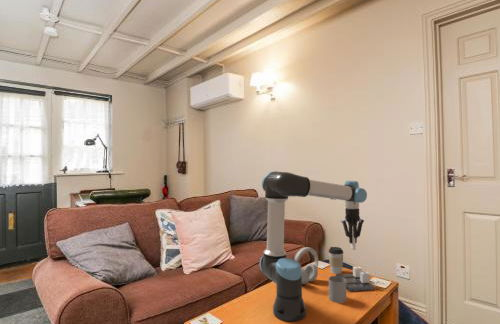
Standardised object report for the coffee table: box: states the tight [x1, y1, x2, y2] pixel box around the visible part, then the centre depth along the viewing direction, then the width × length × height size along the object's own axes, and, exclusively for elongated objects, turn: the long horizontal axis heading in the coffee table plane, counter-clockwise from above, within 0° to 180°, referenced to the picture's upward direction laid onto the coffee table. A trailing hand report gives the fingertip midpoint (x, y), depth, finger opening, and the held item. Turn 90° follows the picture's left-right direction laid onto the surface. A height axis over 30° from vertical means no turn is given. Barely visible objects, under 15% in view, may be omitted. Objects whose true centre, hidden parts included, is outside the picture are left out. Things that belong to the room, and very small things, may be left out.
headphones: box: [293, 246, 319, 285], centre depth 166 cm, size 19×8×20 cm, turn 126°
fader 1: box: [352, 266, 363, 277], centre depth 168 cm, size 4×3×5 cm
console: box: [335, 273, 375, 292], centre depth 164 cm, size 14×18×3 cm
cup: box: [328, 275, 347, 304], centre depth 146 cm, size 8×8×10 cm
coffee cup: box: [328, 246, 344, 275], centre depth 181 cm, size 9×9×15 cm
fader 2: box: [360, 271, 371, 283], centre depth 160 cm, size 4×3×5 cm
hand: (353, 248), depth 166 cm, fingers closed
